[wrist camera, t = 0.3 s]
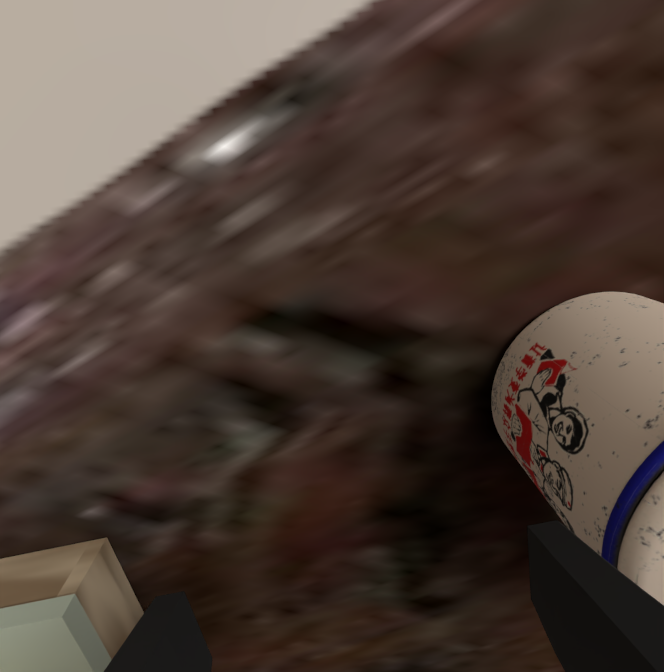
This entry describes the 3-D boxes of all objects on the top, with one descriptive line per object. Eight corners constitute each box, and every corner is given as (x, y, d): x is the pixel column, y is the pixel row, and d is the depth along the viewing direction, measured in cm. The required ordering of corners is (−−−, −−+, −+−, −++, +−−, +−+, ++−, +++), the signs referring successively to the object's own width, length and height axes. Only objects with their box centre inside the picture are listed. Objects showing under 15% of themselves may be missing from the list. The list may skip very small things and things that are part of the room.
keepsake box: (180, 687, 24) (162, 758, 21) (42, 713, 25) (5, 788, 22) (106, 537, 21) (72, 598, 18) (-55, 569, 21) (-117, 635, 18)
